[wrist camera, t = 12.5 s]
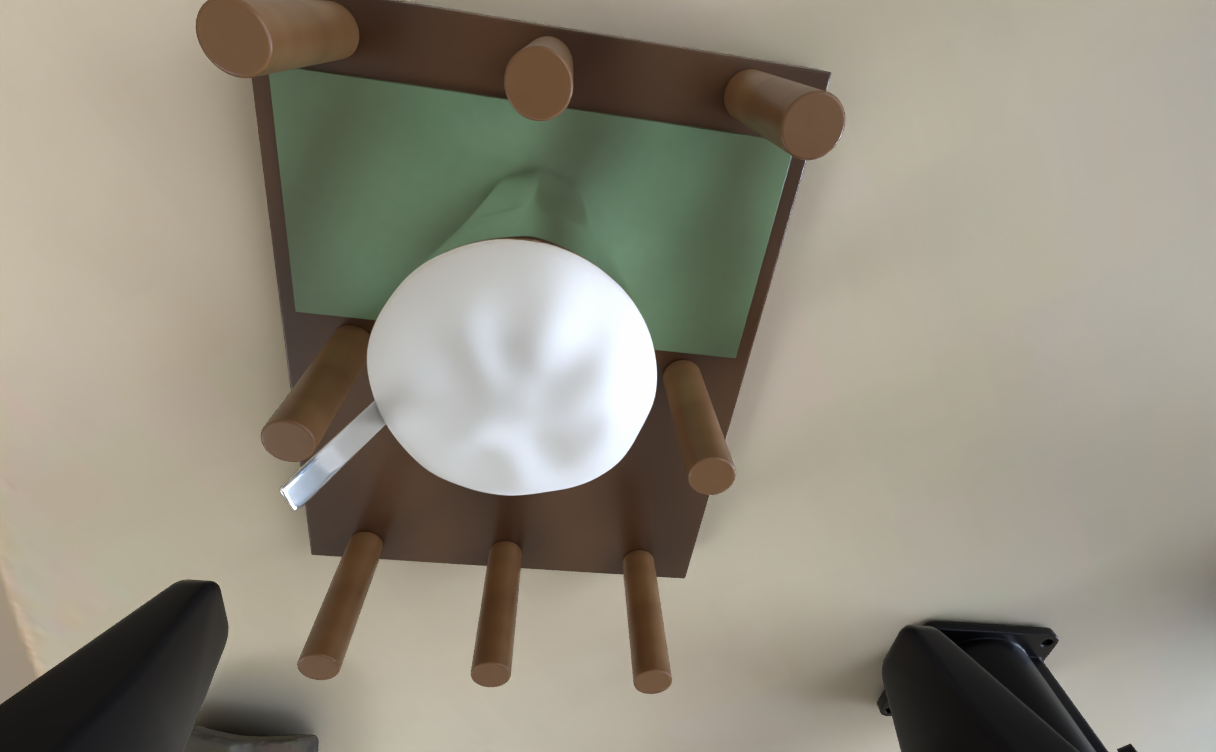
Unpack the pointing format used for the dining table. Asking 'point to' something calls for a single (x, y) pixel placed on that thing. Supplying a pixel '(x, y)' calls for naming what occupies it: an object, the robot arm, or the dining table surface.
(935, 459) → the dining table surface
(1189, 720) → the dining table surface
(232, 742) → the decorative stone
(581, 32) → the plate rack
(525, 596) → the dining table surface
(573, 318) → the milkshake
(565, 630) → the dining table surface
